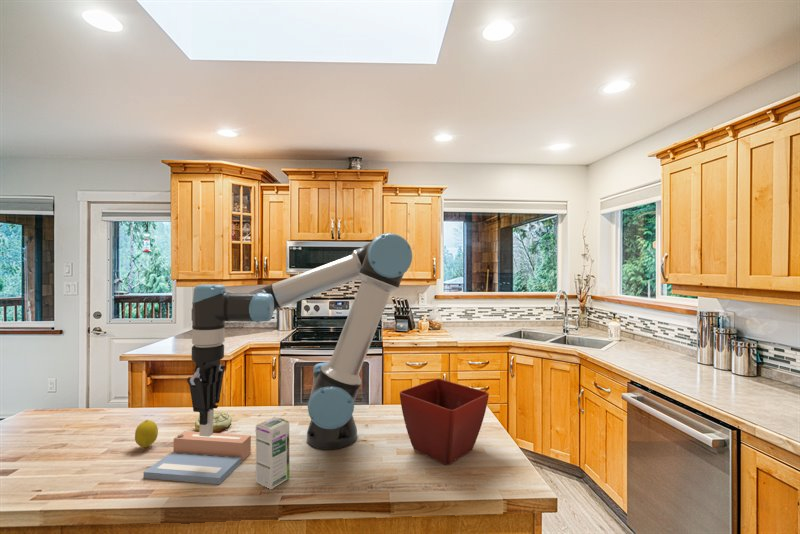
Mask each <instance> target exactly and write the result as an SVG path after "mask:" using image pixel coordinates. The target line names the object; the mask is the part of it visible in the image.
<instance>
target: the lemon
mask: <svg viewBox="0 0 800 534" xmlns="http://www.w3.org/2000/svg"><path fill="white" fill-rule="evenodd" d="M158 434H159V428H158V425H157V423H156V422H154V421H152V420H149V419H145V420H144V421H142V422H141V423H139V424H138V425H137V426H136V429H135V432H134V440H135V441H134V442H135V443H136V444H137V445H138V446H140V447H143V448H144V449H148V447H150V446H151V445H152V444H154V443H155V441H156V440H157V438H158Z"/></svg>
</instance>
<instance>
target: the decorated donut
mask: <svg viewBox="0 0 800 534" xmlns="http://www.w3.org/2000/svg"><path fill="white" fill-rule="evenodd" d="M199 418H200V416H199V417H198V418H196V420H195V422H194V428H195V430H196V432H200V423H199ZM232 420H233V417H232V415H231V414H230V413H228V412H220V411H219V412H213V433H219V432H221V431H224V430H225V429H228V428H229V427H230V426H231V424H232Z"/></svg>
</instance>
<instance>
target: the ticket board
mask: <svg viewBox="0 0 800 534" xmlns="http://www.w3.org/2000/svg"><path fill="white" fill-rule="evenodd" d="M241 463H242V461H241V457H237V456H223V455H209V454H194V453H180V452H173V451H172V452H170V453H168V454H167V455H166V456H164V457H162V458H161V459H160V460H158V461H157V462H156V463H154V464H152V465H151V466H150V467H149V468H147V469H146V470H145V471H143V479H150V480H151V479H152V480H164V481H173V482H174V481H176V482H177V481H178V482H187V483H189V482H190V483H200V484H201V483H202V484H212V485H220V484H221V483H223V482H224V480H226V479H227V477H229V476H230V474H232V472H233V471H234V470H236V469H237V468H238V467H239V465H241Z"/></svg>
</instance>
